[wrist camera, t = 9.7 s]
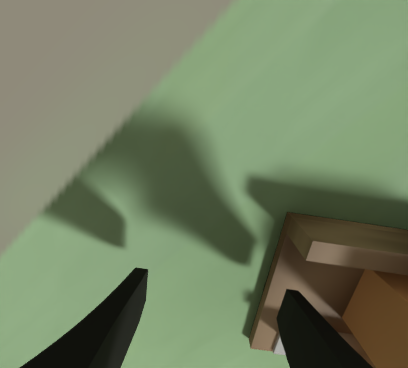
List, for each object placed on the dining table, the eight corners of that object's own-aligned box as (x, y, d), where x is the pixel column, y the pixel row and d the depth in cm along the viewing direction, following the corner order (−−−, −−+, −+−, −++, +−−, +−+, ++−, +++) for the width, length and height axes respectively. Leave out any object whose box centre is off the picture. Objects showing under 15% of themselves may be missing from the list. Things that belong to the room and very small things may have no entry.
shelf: (494, 242, 11) (584, 280, 8) (412, 361, 14) (460, 417, 11) (287, 212, 11) (312, 241, 8) (248, 339, 14) (258, 390, 11)
